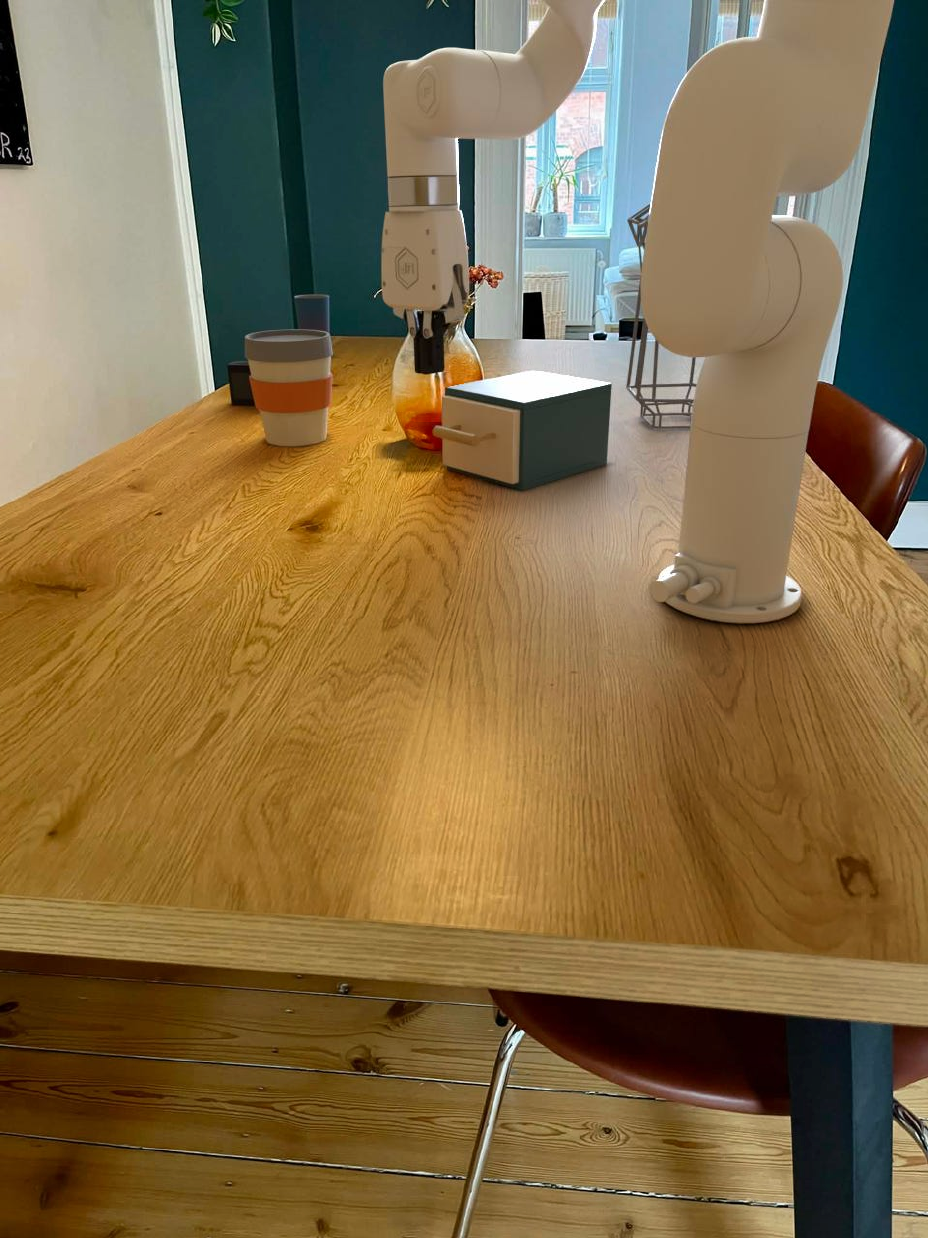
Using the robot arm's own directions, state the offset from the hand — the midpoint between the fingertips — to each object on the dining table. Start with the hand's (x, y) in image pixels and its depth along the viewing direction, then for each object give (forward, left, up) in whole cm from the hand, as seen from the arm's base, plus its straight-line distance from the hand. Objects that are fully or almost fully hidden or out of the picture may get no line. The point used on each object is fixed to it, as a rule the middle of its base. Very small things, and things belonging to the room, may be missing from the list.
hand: (429, 372), depth 105 cm
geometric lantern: (+53, +1, -15) cm, 55 cm away
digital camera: (+15, +60, -15) cm, 64 cm away
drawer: (+14, 0, -14) cm, 19 cm away
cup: (+39, +77, -15) cm, 88 cm away
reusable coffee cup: (+5, +35, -15) cm, 39 cm away
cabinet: (+18, 0, -15) cm, 23 cm away
